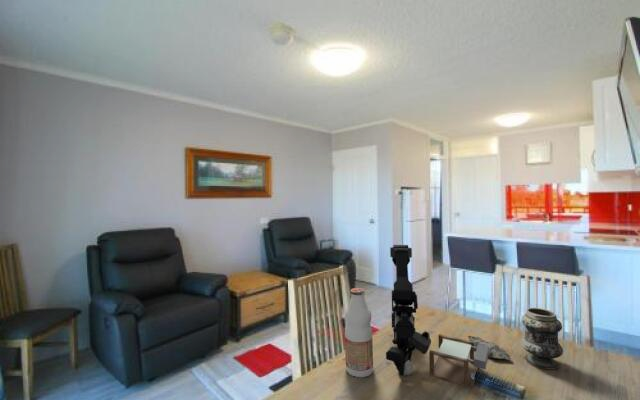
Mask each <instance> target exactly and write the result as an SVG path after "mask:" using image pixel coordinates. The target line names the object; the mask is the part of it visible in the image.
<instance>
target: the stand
mask: <svg viewBox="0 0 640 400" xmlns="http://www.w3.org/2000/svg"><path fill="white" fill-rule="evenodd" d="M437 339H438V349H439V348H440V346H441V344H442V342H443V340H444V339H446V340H450V341H455V342H460V343H464V344H469V345H471V346H474V341H470V340H469V339H463V338H458V337H454V336H449V335H446V334H445V335H444V334H441V333H440V334H438V338H437ZM428 351H429V352H428V353H429V355H428V357H429V361H428V362H429V366H428V367H429V376H430V377H434V378H438V379H440V380H441V379H442V380H443V381H447V382H450V383H454V384H458V385H461V386H465V387H469V388H472V389H474V386H475V382H476V379H475V380H473V379H472V378H471V373H473V372H477V373H478V370H479V368H478V367H474V363H471V362H468V359H472V360H474V357H475V349H471V350H470V353H469V358H468V359H465V358H460V357H456V356H452V355H448V354H444V353H440V352H438V351H435V350H431V349H430V350H428ZM435 356H436V357H437V359H436V361H435Z"/></svg>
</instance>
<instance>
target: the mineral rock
mask: <svg viewBox="0 0 640 400" xmlns="http://www.w3.org/2000/svg"><path fill="white" fill-rule="evenodd" d="M467 337H468V341H474V346H475V347H477V346H478V344H479V345H484V346H488V347H489V355H488V358H494V359H503V360H507V361H509V360H511V359H512V358H511V356H510V354H508V353H507V352H506V350H504V349H503V348H501V347H499V345H498V344H496V343H494V342H490V341H486V340H484V339H482V338H481V337H479V336H473V335H468V336H467ZM474 351H476V349H474Z"/></svg>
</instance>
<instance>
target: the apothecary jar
mask: <svg viewBox="0 0 640 400" xmlns="http://www.w3.org/2000/svg"><path fill="white" fill-rule="evenodd" d="M520 319H521V323H522V325H523V326H524V327H525V328H524V329H525V330H524V331H525V333H524V336H523V337H522V338H521V341H520V344H521V346H522V348H523V349H524V350H525V351H526V352H528V353H529V354H526V355H525V357H524V360H525V361H526V362H527V363H528V364H529V365H531V366H534V367H535V368H539V369H544V370H547V371H548V370H550V371H551V370H552V371H553V370H558V369H560V363H559V362H558V361H557V360H555V359H558V358H559V357H561V356H563V353H564V349H563V346H562V345H561V343H559V332H561V331H562V330H563V324H562V322H561V321H560V320H559V319H558V318H557V314H556V313H555V312H554V311H552V310H550V309H546V308H542V307H541V308H540V307H528V308H526V313H525V314H523V315H522V316H521V318H520Z"/></svg>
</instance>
